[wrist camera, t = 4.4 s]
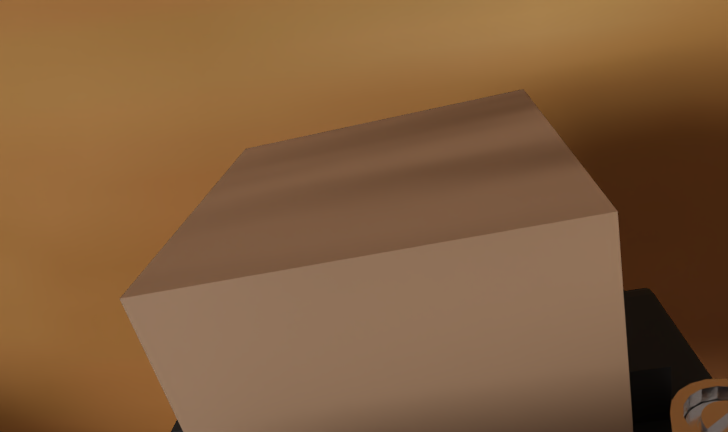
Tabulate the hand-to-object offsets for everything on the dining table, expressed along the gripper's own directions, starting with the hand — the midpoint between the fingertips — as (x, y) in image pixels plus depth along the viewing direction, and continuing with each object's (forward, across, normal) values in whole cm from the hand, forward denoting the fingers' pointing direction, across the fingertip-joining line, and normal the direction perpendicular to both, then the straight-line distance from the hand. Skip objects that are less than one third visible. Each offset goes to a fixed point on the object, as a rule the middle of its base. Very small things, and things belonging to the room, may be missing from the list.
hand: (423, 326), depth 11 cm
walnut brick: (+1, 0, 0) cm, 1 cm away
